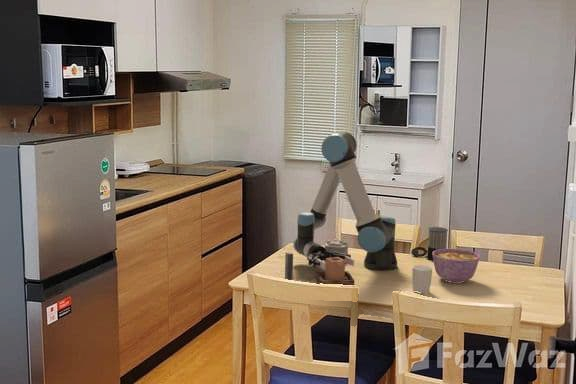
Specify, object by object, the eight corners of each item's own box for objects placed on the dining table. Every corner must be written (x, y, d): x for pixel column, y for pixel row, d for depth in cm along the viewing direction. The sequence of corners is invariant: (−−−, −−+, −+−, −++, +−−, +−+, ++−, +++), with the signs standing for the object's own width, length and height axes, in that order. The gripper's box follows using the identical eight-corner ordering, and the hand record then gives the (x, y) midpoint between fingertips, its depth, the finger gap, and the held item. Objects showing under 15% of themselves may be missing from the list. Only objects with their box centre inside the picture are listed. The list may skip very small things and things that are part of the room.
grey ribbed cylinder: (447, 262, 338) (449, 231, 335) (414, 261, 338) (415, 230, 336) (442, 254, 352) (444, 224, 349) (410, 253, 352) (411, 223, 350)
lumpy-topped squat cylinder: (322, 260, 336) (322, 242, 334) (329, 253, 348) (329, 236, 346) (343, 262, 333) (344, 244, 331) (350, 256, 345) (350, 238, 343)
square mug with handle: (337, 277, 307) (338, 256, 306) (346, 282, 300) (347, 261, 299) (325, 278, 305) (325, 258, 303) (333, 283, 298) (334, 262, 296)
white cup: (430, 295, 287) (432, 271, 286) (410, 293, 289) (412, 269, 287) (430, 289, 295) (432, 266, 293) (411, 288, 297) (412, 264, 295)
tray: (348, 276, 311) (348, 271, 310) (354, 286, 297) (354, 280, 297) (315, 276, 309) (316, 271, 309) (320, 286, 296) (320, 280, 295)
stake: (290, 277, 308) (290, 252, 306) (292, 278, 306) (293, 253, 304) (284, 277, 307) (285, 252, 305) (287, 279, 305) (288, 254, 303)
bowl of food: (447, 271, 323) (449, 246, 321) (487, 281, 309) (489, 255, 307) (421, 279, 309) (422, 253, 307) (461, 290, 295) (463, 263, 293)
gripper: (339, 257, 324) (364, 270, 305) (289, 263, 313) (312, 276, 294) (340, 241, 322) (365, 252, 304) (290, 246, 312) (312, 258, 293)
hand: (339, 264), depth 299 cm, fingers open, 13 cm apart
